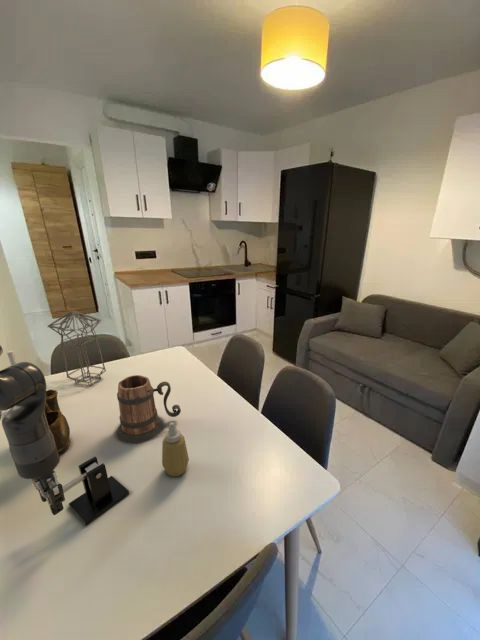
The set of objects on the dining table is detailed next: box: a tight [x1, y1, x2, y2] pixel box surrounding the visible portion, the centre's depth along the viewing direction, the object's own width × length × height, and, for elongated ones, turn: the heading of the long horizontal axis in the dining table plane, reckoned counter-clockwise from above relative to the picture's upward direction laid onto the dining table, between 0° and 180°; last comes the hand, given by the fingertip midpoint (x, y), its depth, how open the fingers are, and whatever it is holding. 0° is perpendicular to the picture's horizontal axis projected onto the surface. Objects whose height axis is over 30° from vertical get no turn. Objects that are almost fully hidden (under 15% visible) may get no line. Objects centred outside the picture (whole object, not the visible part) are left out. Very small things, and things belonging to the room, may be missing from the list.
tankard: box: [115, 374, 182, 444], centre depth 107 cm, size 24×17×20 cm
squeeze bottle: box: [161, 421, 190, 477], centre depth 88 cm, size 8×8×18 cm
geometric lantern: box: [47, 310, 107, 387], centre depth 132 cm, size 16×16×35 cm
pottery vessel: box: [45, 389, 71, 456], centre depth 94 cm, size 25×11×20 cm, turn 37°
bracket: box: [68, 456, 130, 526], centre depth 78 cm, size 12×9×13 cm
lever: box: [44, 462, 100, 494], centre depth 73 cm, size 12×5×2 cm, turn 145°
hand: (52, 505), depth 70 cm, fingers closed on lever, 5 cm apart
